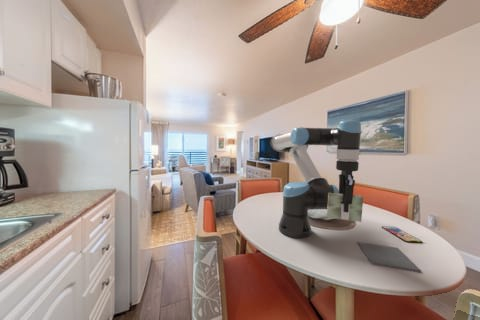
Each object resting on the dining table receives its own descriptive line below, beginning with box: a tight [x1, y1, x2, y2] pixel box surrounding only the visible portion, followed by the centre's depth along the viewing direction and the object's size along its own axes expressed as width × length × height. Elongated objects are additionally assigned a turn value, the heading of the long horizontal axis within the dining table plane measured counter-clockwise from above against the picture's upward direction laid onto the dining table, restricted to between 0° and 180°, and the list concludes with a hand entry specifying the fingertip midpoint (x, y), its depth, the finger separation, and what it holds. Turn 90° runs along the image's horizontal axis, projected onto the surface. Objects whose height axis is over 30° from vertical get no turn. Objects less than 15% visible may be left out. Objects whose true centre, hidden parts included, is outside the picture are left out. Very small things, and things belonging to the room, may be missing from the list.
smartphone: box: [381, 225, 423, 244], centre depth 84 cm, size 7×1×15 cm
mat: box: [357, 241, 422, 273], centre depth 67 cm, size 14×14×1 cm
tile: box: [326, 193, 364, 223], centre depth 72 cm, size 12×2×10 cm, turn 73°
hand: (343, 217), depth 72 cm, fingers closed on tile, 2 cm apart
